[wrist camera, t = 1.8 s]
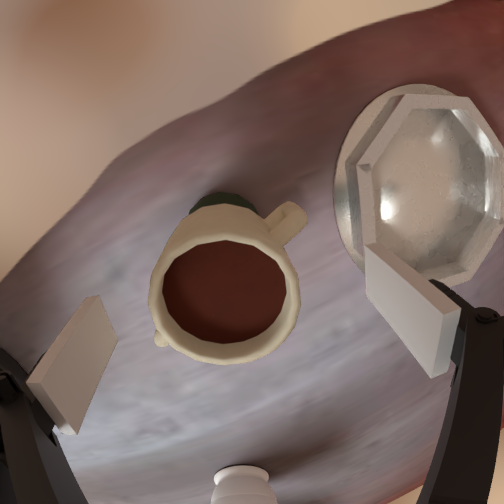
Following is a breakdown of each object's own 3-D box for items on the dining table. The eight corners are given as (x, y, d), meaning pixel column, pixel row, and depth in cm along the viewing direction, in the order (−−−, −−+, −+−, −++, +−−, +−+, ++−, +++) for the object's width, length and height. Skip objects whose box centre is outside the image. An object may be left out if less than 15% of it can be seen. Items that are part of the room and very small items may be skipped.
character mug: (207, 297, 28) (200, 403, 16) (148, 242, 26) (95, 325, 14) (300, 215, 26) (363, 279, 14) (243, 151, 24) (263, 160, 12)
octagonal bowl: (341, 312, 30) (351, 327, 27) (315, 85, 23) (326, 79, 20) (490, 267, 31) (505, 276, 28) (488, 90, 23) (506, 90, 21)
